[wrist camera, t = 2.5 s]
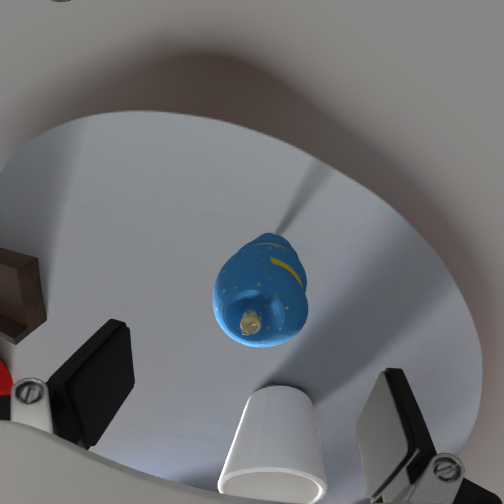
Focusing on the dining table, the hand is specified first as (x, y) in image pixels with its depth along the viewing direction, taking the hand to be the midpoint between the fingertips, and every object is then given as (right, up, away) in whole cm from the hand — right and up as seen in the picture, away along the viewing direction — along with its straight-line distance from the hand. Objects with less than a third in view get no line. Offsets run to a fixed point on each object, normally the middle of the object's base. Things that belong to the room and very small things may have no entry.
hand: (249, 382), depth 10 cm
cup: (+3, -13, +23) cm, 26 cm away
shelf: (-33, +1, +23) cm, 40 cm away
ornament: (+2, +6, +17) cm, 18 cm away
